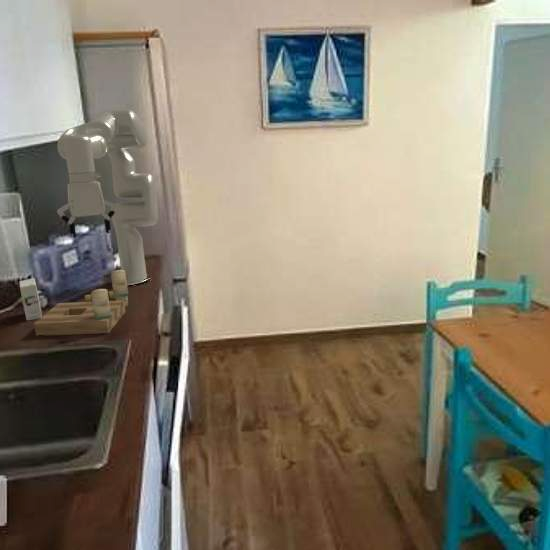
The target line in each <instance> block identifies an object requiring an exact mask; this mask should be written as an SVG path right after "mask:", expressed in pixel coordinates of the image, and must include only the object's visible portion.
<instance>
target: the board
mask: <svg viewBox="0 0 550 550" xmlns="http://www.w3.org/2000/svg"><path fill="white" fill-rule="evenodd" d="M108 293H109V291H108V289H106V288H101V289H97V290H95V289H94V290H92V291H91V292H90V295H91V297H92V302H85V301H81V302H80V301H79V302H58V303H56V304H55V305H54V307H52V308H51V309H49V310H48V311H47V312H46V313H45V314H44V315H42V317H41V318H38V319H37V320H36V321H35V322H34V323H33V324H34V325H33V326H34V331H35V336H36V337H39V336H38V335H45V336H63V335H64V336H65V335H66V336H69V335H87V334H88V335H91V334H92V335H93V334H94V335H95V334H110V332H111V330H112V329H113V328H114V327H115V326H116V324H117V323H118V322H119V320H121V318H122V317H123V316H124V314H125V313H126V306H125V305H124V301H109V298H108Z"/></svg>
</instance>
